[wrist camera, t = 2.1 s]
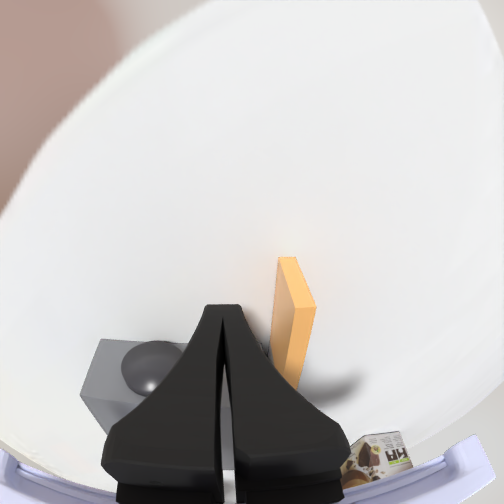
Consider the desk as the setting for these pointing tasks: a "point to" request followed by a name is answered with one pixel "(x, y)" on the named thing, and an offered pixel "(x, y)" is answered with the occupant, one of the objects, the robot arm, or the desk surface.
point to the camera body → (139, 383)
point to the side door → (290, 321)
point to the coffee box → (375, 459)
